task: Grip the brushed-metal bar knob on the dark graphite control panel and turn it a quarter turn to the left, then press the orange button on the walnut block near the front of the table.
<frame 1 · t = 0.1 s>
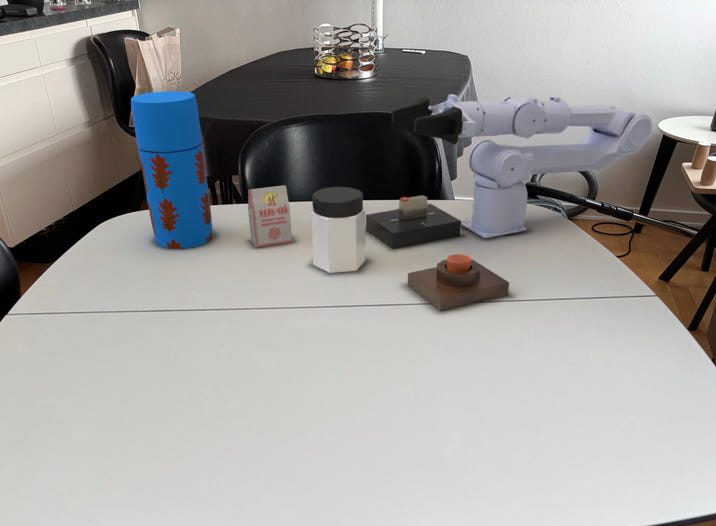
hand: (403, 121, 111), 22 cm above the table, tool horizontal, fingers open, 7 cm apart
button block: (456, 290, 106), on the table
thermos: (184, 239, 128), on the table
tea bag: (271, 242, 126), on the table
panel: (412, 233, 128), on the table
jar: (339, 264, 116), on the table
knob: (413, 207, 125), point 5 cm above the table, hinge at 0.0°
button: (458, 263, 104), point 4 cm above the table, slide at 0.1 cm
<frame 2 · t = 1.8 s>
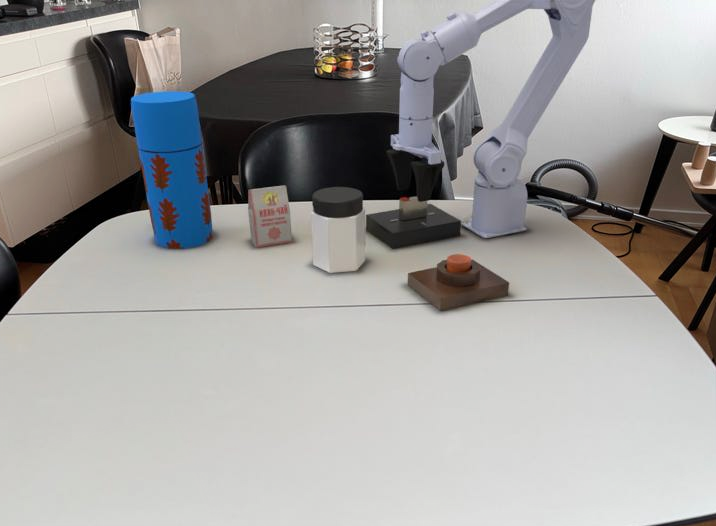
hand: (413, 194, 124), 7 cm above the table, tool pointing down, fingers open, 7 cm apart
nothing on the table moved.
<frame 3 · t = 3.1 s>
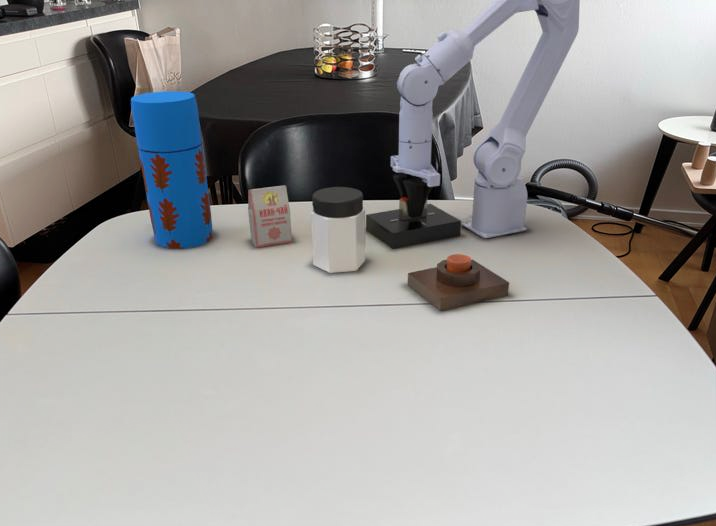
hand: (412, 215, 126), 4 cm above the table, tool pointing down, fingers closed on knob, 2 cm apart
knob: (413, 207, 125), point 5 cm above the table, hinge at 0.0°, touching gripper
everything else where it was.
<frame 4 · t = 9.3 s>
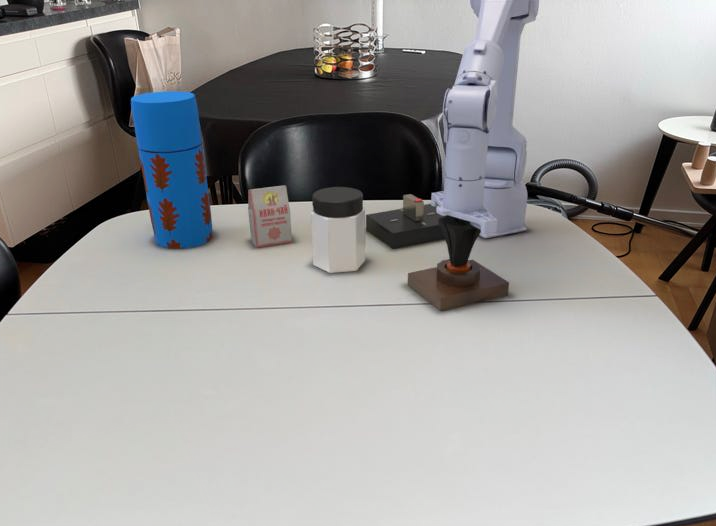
hand: (458, 264, 104), 4 cm above the table, tool pointing down, fingers closed, pressing on button
knob: (413, 207, 125), point 5 cm above the table, hinge at 89.3°
button: (458, 269, 104), point 4 cm above the table, slide at -0.8 cm, touching gripper
everything else where it was.
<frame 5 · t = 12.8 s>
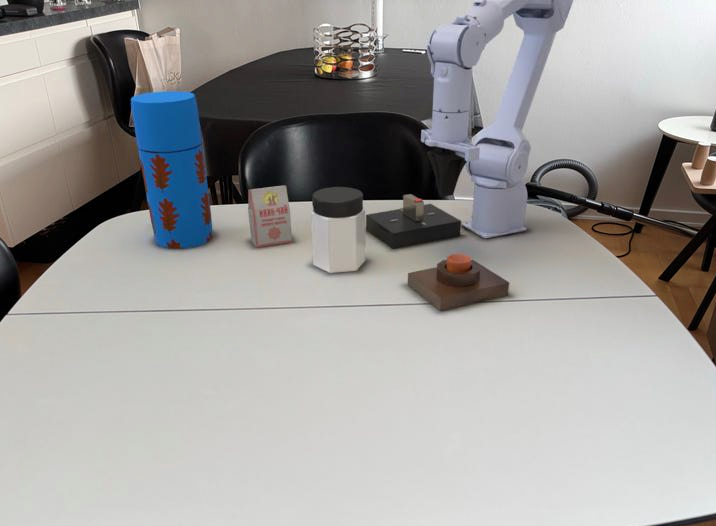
hand: (445, 194, 114), 10 cm above the table, tool pointing down, fingers closed
button: (458, 263, 104), point 4 cm above the table, slide at 0.1 cm
everything else where it was.
at the end: knob at +89° (first picture: +0°); button pushed in 1.2 cm at the most during the clip, back to where it started at the end; button slide at 0.1 cm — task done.
